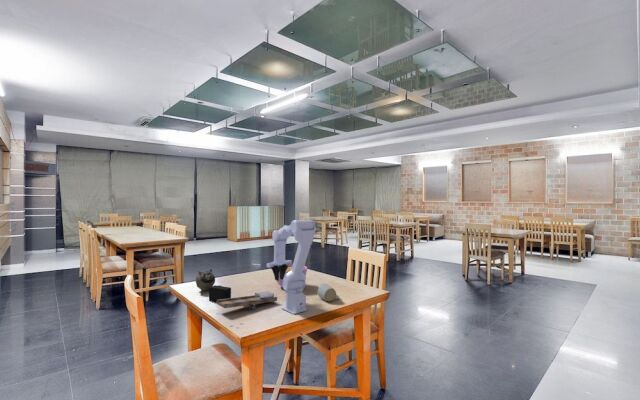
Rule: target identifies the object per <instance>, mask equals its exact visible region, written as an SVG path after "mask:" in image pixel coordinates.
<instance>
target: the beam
mask: <svg viewBox="0 0 640 400" xmlns="http://www.w3.org/2000/svg"><path fill="white" fill-rule="evenodd" d="M254 297H255V294H254V295H244V296H237V297H231V298H228V299H219V300H217V302H216V305H218V306H220V307H221V308H223V309H229V308H237V307H238V308H239V307H243V306H245V305H253V304H254V305H259V304H264V303H265V304H266V303H272V302H277V301H278V297H277V296H274V297H272V298H265V299H256V298H254Z"/></svg>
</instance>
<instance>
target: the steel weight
mask: <svg viewBox="0 0 640 400" xmlns="http://www.w3.org/2000/svg"><path fill="white" fill-rule="evenodd" d="M254 295H255V297H254V298H256V299H265V298H272V297H275V293H274V292H271V291H269V290H267V291H266V290H265V291H257V292H255V293H254Z"/></svg>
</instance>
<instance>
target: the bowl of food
mask: <svg viewBox="0 0 640 400" xmlns="http://www.w3.org/2000/svg"><path fill="white" fill-rule="evenodd" d="M287 266H288V268H287V270H286V272H285V275H286V274H287V273H288V272H290V271H291V270H292V266H293V263H292V264H287ZM278 267H279V266H278ZM307 272H308V267H307V266H306V265H305V266H304V269H303V273H304V274H305V276H306V275H307ZM285 275H284V278H285ZM284 278H283V279H284ZM275 281H276V283H277V284H278V285H279V286H280V287H282V288H283V285H282V281H283V280H282V279H280V271H279V280H278V281H277V280H275Z"/></svg>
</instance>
